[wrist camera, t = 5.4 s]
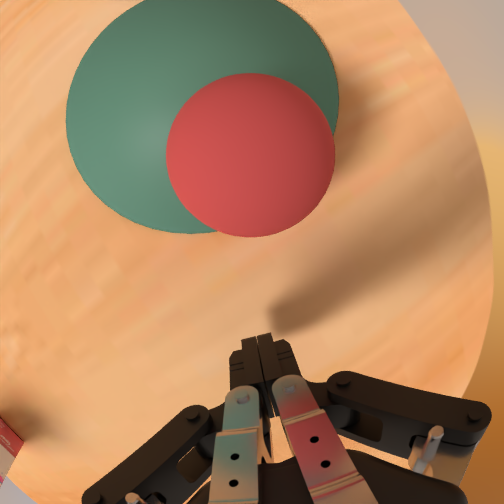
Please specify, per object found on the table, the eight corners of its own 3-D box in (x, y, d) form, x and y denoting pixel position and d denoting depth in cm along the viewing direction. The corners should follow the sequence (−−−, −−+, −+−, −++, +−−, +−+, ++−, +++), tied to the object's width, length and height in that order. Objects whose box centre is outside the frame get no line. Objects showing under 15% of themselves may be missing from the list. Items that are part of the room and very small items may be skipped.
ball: (128, 188, 6) (170, 250, 12) (379, 206, 6) (309, 257, 12) (174, 38, 7) (186, 134, 13) (345, 56, 8) (304, 143, 14)
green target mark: (61, 37, 10) (60, 36, 9) (294, -25, 10) (295, -27, 10) (100, 262, 13) (98, 264, 13) (363, 196, 14) (365, 197, 13)
